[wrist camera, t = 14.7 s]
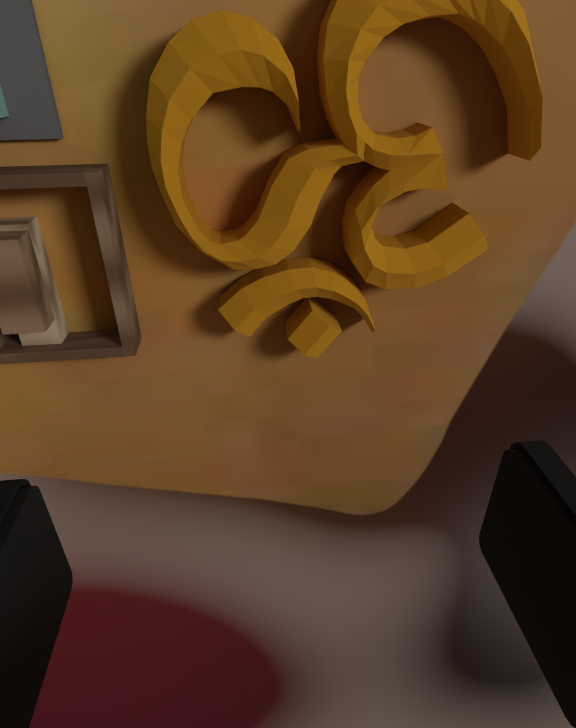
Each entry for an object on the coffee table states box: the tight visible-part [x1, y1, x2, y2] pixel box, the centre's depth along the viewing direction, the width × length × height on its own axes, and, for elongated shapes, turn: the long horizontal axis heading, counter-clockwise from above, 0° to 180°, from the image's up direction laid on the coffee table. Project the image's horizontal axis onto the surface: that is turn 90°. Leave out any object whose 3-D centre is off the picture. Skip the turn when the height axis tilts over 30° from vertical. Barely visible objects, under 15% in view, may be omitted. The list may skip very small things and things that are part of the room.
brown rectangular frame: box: [0, 164, 141, 364], centre depth 42 cm, size 16×13×4 cm
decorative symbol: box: [146, 0, 542, 358], centre depth 40 cm, size 30×5×30 cm
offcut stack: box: [0, 217, 69, 346], centre depth 42 cm, size 11×4×5 cm, turn 1°
